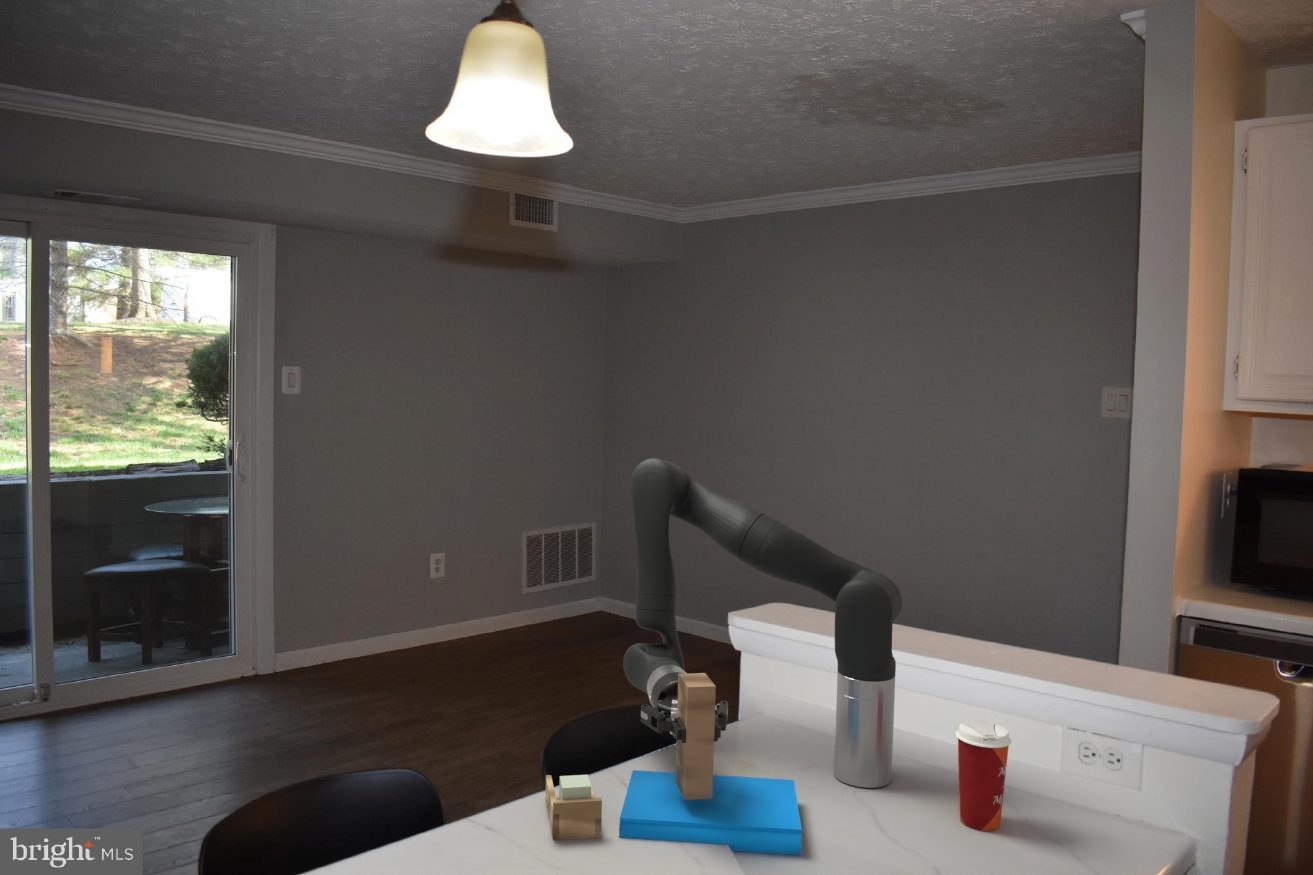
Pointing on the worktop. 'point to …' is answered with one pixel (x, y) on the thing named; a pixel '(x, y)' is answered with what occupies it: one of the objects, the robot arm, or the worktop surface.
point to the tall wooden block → (696, 736)
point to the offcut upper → (574, 787)
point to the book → (714, 813)
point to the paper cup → (981, 773)
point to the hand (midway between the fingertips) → (700, 735)
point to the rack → (573, 815)
